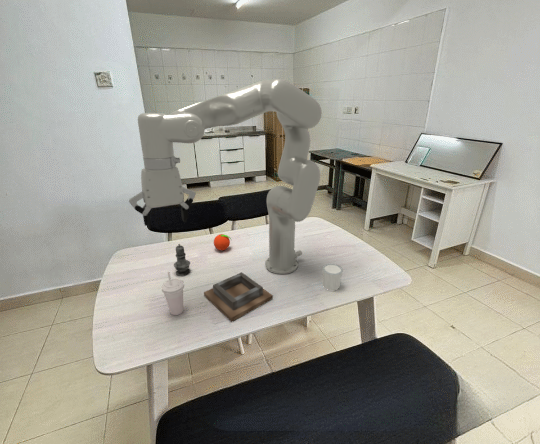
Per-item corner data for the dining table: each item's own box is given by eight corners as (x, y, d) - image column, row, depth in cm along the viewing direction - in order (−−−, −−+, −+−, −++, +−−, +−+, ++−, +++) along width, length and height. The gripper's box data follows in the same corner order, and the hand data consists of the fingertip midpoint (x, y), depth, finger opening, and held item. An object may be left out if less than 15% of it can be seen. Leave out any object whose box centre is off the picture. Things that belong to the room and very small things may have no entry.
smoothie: (168, 304, 91) (162, 266, 86) (189, 303, 92) (184, 265, 86) (163, 319, 85) (156, 279, 80) (185, 317, 86) (179, 278, 80)
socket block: (243, 277, 105) (243, 267, 103) (272, 299, 94) (272, 287, 92) (204, 295, 95) (203, 284, 93) (231, 322, 84) (230, 309, 82)
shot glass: (329, 294, 96) (331, 276, 93) (317, 283, 101) (318, 266, 99) (345, 288, 99) (347, 271, 96) (332, 278, 104) (334, 261, 101)
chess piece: (186, 277, 105) (182, 248, 100) (172, 275, 106) (167, 246, 101) (193, 268, 110) (190, 240, 106) (179, 267, 111) (175, 239, 107)
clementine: (234, 246, 127) (233, 231, 124) (230, 253, 121) (229, 238, 118) (216, 245, 128) (215, 230, 125) (212, 252, 121) (210, 237, 119)
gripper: (188, 158, 82) (193, 214, 88) (121, 163, 74) (132, 225, 80) (196, 163, 76) (201, 223, 83) (124, 169, 68) (136, 235, 74)
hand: (167, 224), depth 81 cm, fingers open, 9 cm apart
